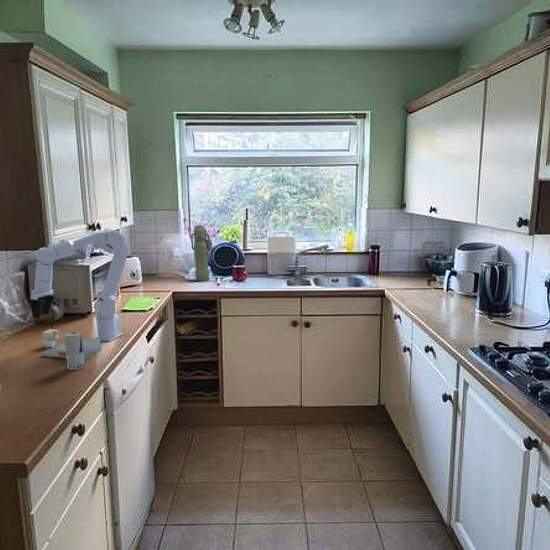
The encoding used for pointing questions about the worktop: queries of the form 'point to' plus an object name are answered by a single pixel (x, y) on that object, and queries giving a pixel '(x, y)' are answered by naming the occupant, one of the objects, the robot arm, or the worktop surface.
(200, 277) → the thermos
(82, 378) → the worktop surface
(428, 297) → the worktop surface
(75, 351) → the energy drink
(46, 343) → the column block
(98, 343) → the stepped stand
